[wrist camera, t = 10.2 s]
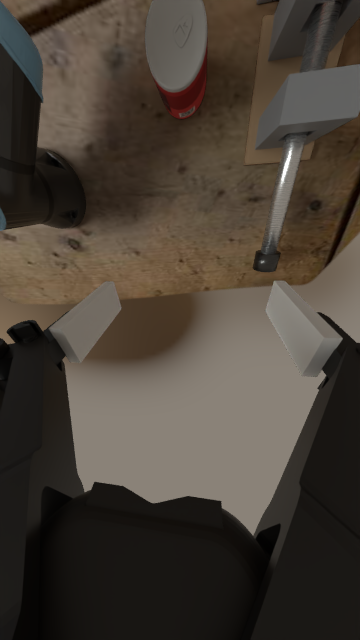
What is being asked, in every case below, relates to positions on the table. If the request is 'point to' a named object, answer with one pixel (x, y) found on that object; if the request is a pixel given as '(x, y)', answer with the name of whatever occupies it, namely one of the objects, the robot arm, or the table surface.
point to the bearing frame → (299, 83)
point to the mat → (264, 1)
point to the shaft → (296, 134)
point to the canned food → (178, 53)
